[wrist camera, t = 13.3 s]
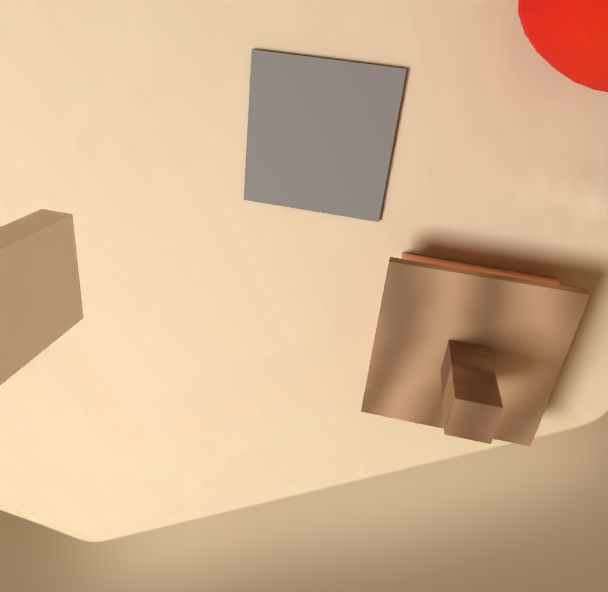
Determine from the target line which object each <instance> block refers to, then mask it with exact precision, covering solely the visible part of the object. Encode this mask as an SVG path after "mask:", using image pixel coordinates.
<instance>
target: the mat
mask: <svg viewBox="0 0 608 592" xmlns="http://www.w3.org/2000/svg"><path fill="white" fill-rule="evenodd" d="M406 71H407V69H406V68H398V67H390V66H382V65H374V64H366V63H358V62H350V61H342V60H334V59H326V58H318V57H310V56H302V55H294V54H286V53H278V52H269V51H261V50H253V49H252V57H251V76H250V94H249V113H248V132H247V151H246V169H245V188H244V200H249V201H255V202H261V203H267V204H273V205H280V206H286V207H292V208H298V209H304V210H310V211H316V212H322V213H328V214H334V215H340V216H346V217H352V218H359V219H365V220H371V221H377V222H379V219H380V214H381V208H382V203H383V197H384V192H385V186H386V181H387V175H388V170H389V164H390V159H391V153H392V148H393V142H394V137H395V131H396V126H397V120H398V115H399V109H400V104H401V98H402V93H403V87H404V82H405V76H406Z"/></svg>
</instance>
